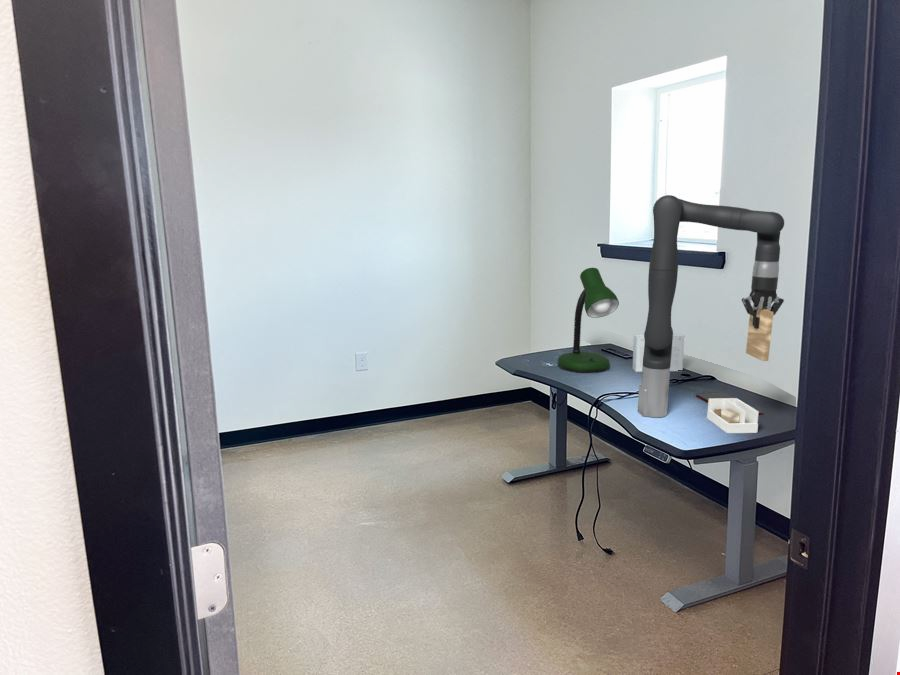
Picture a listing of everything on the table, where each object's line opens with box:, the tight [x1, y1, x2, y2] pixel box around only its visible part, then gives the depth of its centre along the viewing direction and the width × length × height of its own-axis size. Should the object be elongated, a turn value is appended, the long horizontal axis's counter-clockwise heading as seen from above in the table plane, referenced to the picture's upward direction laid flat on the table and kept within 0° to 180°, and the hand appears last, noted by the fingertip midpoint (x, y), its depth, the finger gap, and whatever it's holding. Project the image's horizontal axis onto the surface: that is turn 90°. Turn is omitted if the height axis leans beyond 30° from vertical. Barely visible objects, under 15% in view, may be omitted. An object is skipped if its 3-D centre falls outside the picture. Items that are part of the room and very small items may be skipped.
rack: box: [706, 397, 759, 434], centre depth 218 cm, size 10×15×7 cm, turn 3°
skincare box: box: [632, 333, 685, 373], centre depth 287 cm, size 21×6×16 cm, turn 92°
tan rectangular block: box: [745, 305, 774, 362], centre depth 214 cm, size 2×11×16 cm, turn 3°
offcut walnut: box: [714, 409, 722, 417], centre depth 222 cm, size 3×3×4 cm
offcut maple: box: [721, 409, 740, 423], centre depth 215 cm, size 3×5×3 cm
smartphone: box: [695, 391, 765, 416], centre depth 240 cm, size 12×2×25 cm
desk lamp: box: [557, 267, 620, 374], centre depth 286 cm, size 31×23×45 cm
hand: (759, 327), depth 213 cm, fingers closed on tan rectangular block, 2 cm apart
